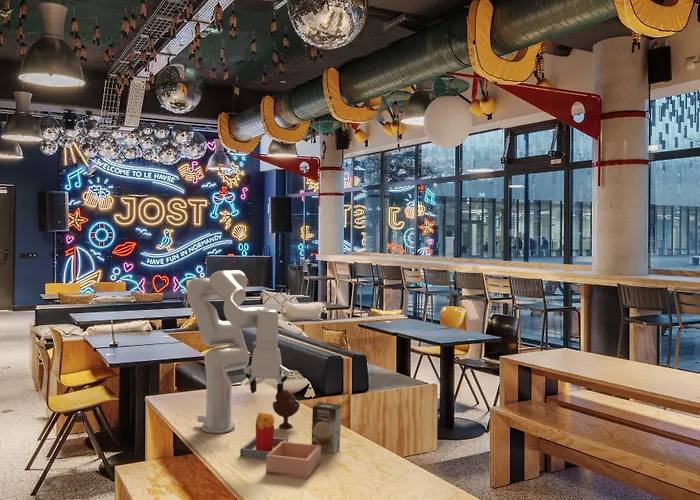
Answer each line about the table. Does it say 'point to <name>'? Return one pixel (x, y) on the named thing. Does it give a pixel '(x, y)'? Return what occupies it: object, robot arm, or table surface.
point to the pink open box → (293, 460)
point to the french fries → (264, 432)
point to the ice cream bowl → (285, 407)
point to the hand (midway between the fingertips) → (266, 393)
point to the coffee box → (326, 426)
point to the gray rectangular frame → (258, 454)
